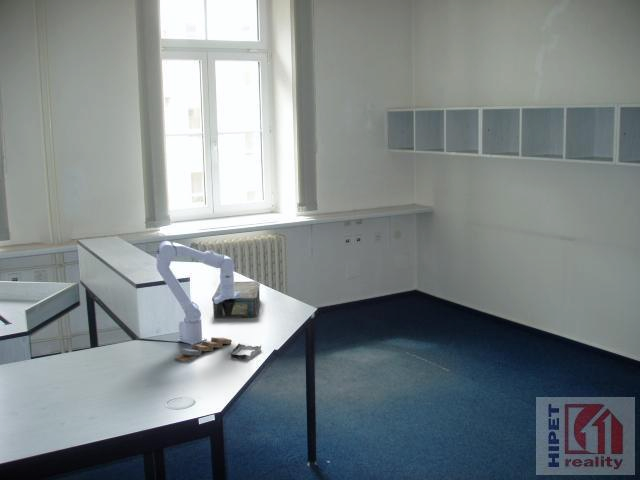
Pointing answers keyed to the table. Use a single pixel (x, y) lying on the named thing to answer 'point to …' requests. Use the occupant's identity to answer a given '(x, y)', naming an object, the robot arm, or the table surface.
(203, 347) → the domino
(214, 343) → the domino
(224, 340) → the domino
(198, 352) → the domino
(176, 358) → the domino
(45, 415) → the table surface
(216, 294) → the metal box
